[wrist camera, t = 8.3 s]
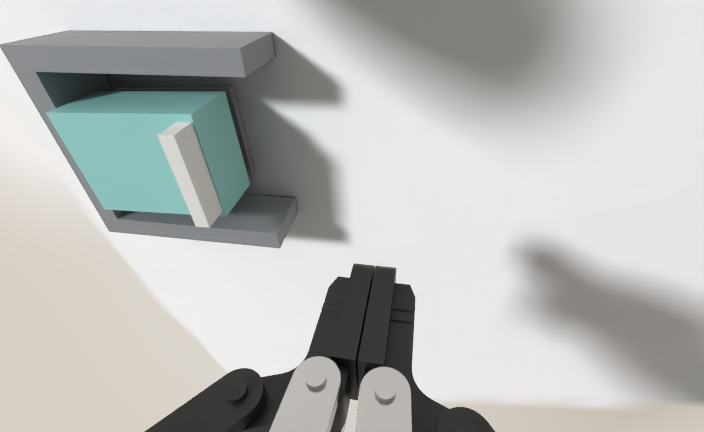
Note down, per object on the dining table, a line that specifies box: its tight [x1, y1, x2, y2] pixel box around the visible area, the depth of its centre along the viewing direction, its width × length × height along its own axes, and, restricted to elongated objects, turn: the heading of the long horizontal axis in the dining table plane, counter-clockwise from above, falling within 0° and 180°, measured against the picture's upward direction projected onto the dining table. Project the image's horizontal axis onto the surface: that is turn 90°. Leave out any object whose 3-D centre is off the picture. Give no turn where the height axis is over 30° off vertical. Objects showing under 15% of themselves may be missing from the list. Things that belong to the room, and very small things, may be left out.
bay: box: [0, 31, 298, 248], centre depth 20 cm, size 12×12×4 cm
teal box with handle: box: [46, 87, 255, 228], centre depth 19 cm, size 8×6×6 cm
